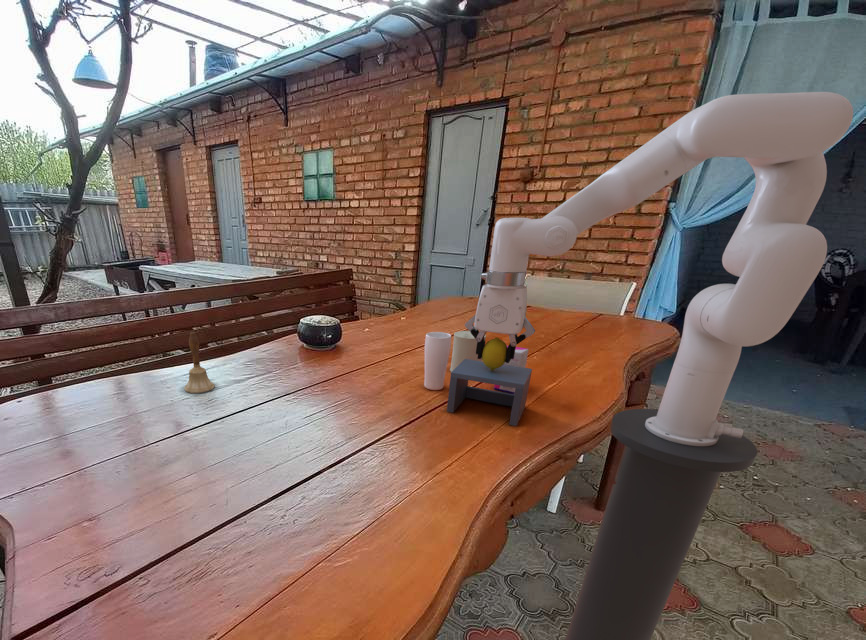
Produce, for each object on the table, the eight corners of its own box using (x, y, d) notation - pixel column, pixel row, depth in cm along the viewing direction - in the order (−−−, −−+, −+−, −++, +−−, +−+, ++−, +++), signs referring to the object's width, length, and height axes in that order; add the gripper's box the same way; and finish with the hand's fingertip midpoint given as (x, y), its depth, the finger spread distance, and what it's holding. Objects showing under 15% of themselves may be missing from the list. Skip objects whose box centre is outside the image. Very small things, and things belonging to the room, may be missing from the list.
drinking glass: (416, 388, 118) (420, 335, 112) (428, 381, 123) (432, 330, 117) (439, 393, 114) (444, 339, 108) (450, 386, 119) (456, 334, 113)
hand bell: (218, 382, 124) (211, 328, 117) (209, 393, 116) (202, 336, 110) (190, 382, 124) (181, 328, 118) (180, 393, 116) (170, 336, 110)
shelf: (524, 407, 105) (532, 368, 101) (516, 426, 96) (524, 384, 92) (460, 395, 113) (464, 358, 109) (446, 411, 103) (450, 372, 99)
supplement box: (522, 388, 117) (529, 348, 112) (514, 394, 113) (521, 353, 108) (501, 383, 120) (507, 344, 116) (493, 389, 116) (499, 349, 112)
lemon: (501, 367, 102) (506, 334, 99) (507, 374, 97) (513, 340, 94) (477, 366, 103) (482, 334, 100) (483, 374, 98) (487, 340, 95)
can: (444, 371, 130) (448, 333, 125) (458, 364, 136) (462, 327, 132) (473, 378, 124) (478, 338, 120) (486, 370, 131) (491, 332, 126)
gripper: (461, 279, 93) (452, 358, 100) (547, 284, 85) (531, 370, 92) (470, 275, 99) (461, 350, 106) (551, 279, 91) (536, 360, 98)
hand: (494, 358), depth 99 cm, fingers closed on lemon, 5 cm apart
